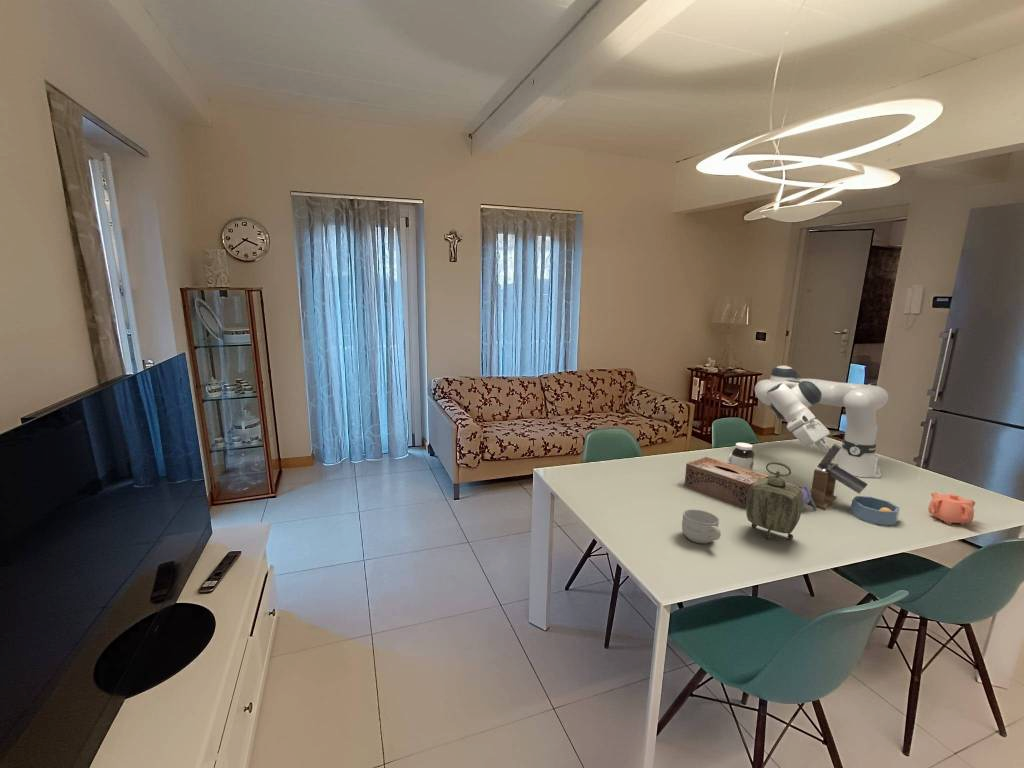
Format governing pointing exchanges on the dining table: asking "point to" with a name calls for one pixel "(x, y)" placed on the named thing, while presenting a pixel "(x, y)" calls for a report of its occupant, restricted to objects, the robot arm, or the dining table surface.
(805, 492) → the flower
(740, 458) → the spread jar
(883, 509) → the ball
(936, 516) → the teapot
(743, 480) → the tissue box cover
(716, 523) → the teacup
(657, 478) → the dining table surface
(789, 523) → the tabletop clock
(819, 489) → the stand
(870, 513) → the blue octagonal bowl
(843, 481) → the lever
